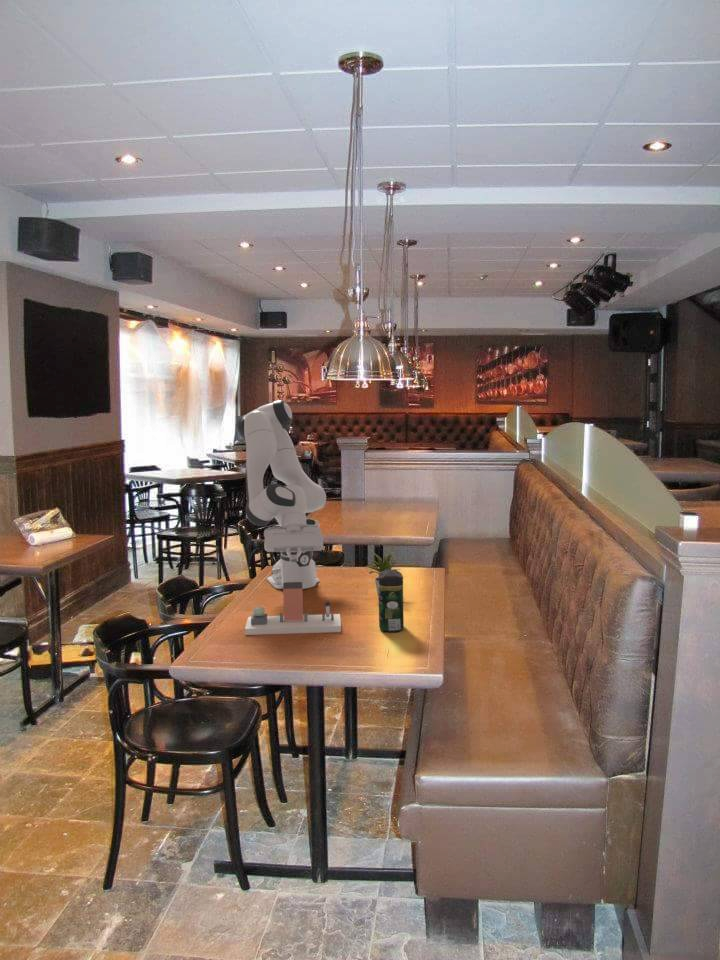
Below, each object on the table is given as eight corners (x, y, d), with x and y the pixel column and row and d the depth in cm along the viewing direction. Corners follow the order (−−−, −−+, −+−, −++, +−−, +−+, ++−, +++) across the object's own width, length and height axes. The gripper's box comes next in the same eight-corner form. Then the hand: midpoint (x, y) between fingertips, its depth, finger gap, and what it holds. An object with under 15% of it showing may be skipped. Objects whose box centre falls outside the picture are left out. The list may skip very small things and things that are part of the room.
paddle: (284, 618, 235) (283, 582, 233) (303, 618, 235) (302, 581, 233) (284, 620, 233) (283, 584, 231) (303, 619, 233) (302, 583, 232)
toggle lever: (325, 616, 235) (324, 601, 237) (330, 616, 236) (330, 601, 237) (325, 616, 234) (324, 600, 235) (330, 616, 234) (330, 600, 235)
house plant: (373, 587, 279) (373, 545, 277) (407, 590, 274) (407, 548, 272) (359, 597, 266) (359, 554, 264) (395, 601, 261) (395, 556, 259)
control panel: (248, 622, 239) (248, 609, 239) (339, 619, 241) (339, 606, 240) (245, 635, 227) (244, 621, 227) (341, 631, 229) (340, 618, 229)
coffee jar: (378, 623, 237) (377, 567, 235) (402, 622, 237) (402, 567, 235) (379, 633, 228) (378, 575, 225) (404, 633, 228) (404, 575, 225)
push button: (253, 612, 235) (253, 606, 234) (265, 612, 235) (264, 606, 235) (252, 616, 231) (252, 610, 231) (264, 615, 231) (264, 609, 231)
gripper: (263, 522, 251) (262, 556, 243) (322, 520, 253) (323, 554, 244) (264, 532, 256) (263, 566, 248) (322, 531, 258) (323, 564, 249)
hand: (293, 560), depth 246 cm, fingers closed
